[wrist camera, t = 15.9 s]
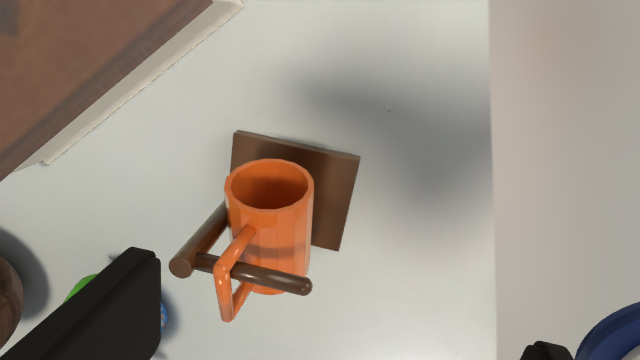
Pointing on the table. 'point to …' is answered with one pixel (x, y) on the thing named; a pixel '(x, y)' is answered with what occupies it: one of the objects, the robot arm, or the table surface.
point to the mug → (264, 226)
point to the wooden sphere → (9, 301)
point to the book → (85, 64)
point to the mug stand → (327, 219)
